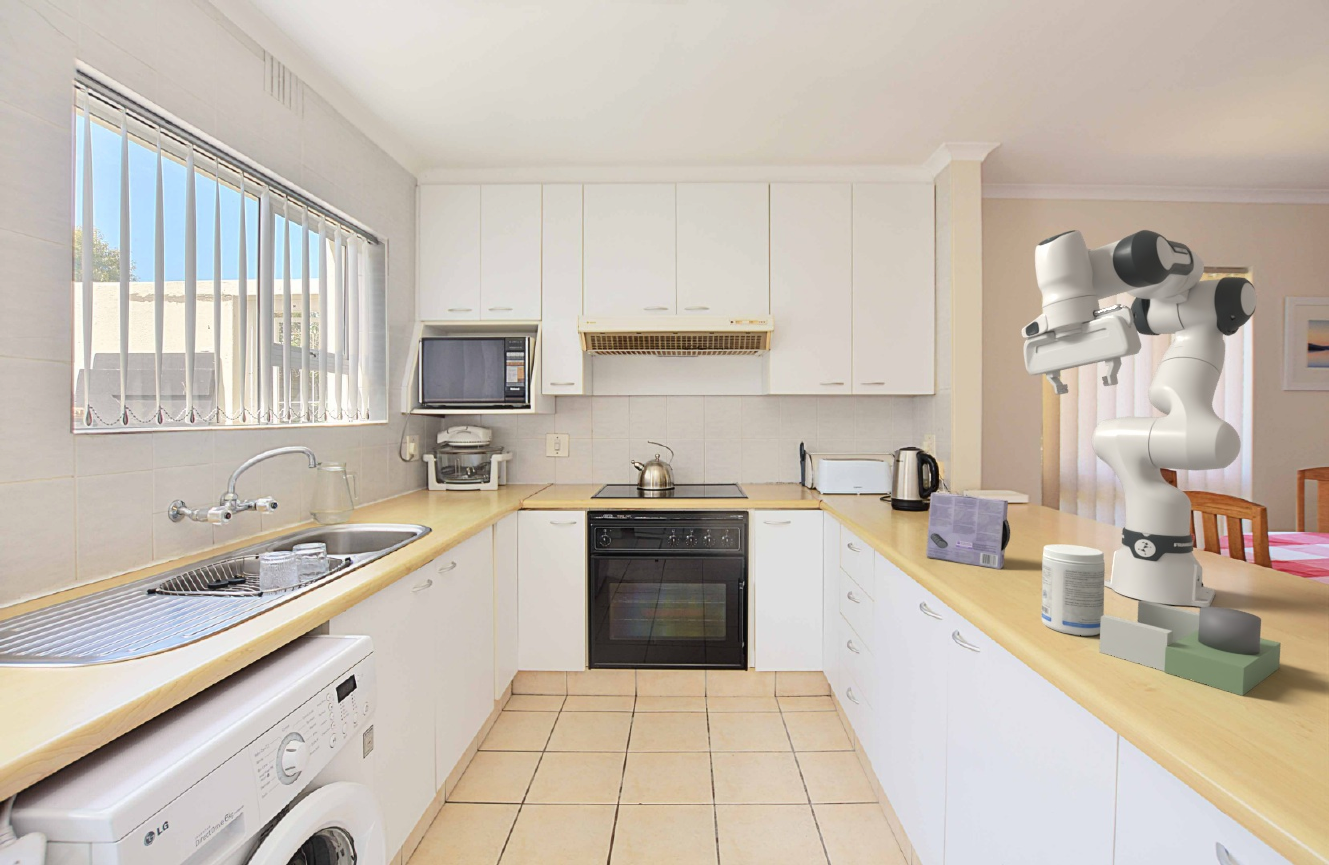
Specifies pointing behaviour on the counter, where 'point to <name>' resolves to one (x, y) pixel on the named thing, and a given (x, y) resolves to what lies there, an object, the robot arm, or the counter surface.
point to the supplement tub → (1073, 589)
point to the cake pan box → (968, 530)
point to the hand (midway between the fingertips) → (1085, 389)
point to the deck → (1194, 644)
